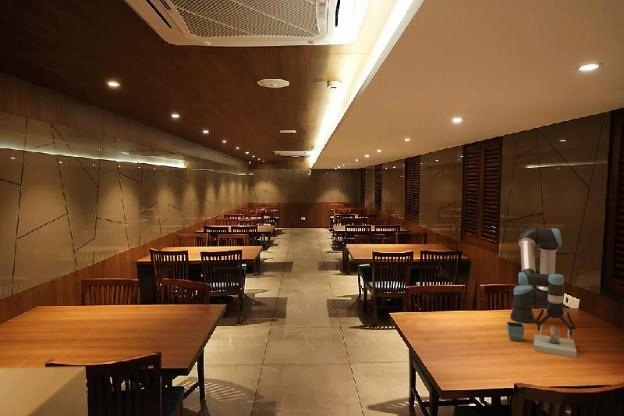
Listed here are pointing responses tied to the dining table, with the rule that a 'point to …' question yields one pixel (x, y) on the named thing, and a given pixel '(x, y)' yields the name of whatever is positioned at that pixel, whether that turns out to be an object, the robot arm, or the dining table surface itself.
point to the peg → (554, 335)
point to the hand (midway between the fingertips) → (554, 338)
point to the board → (554, 346)
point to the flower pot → (515, 330)
